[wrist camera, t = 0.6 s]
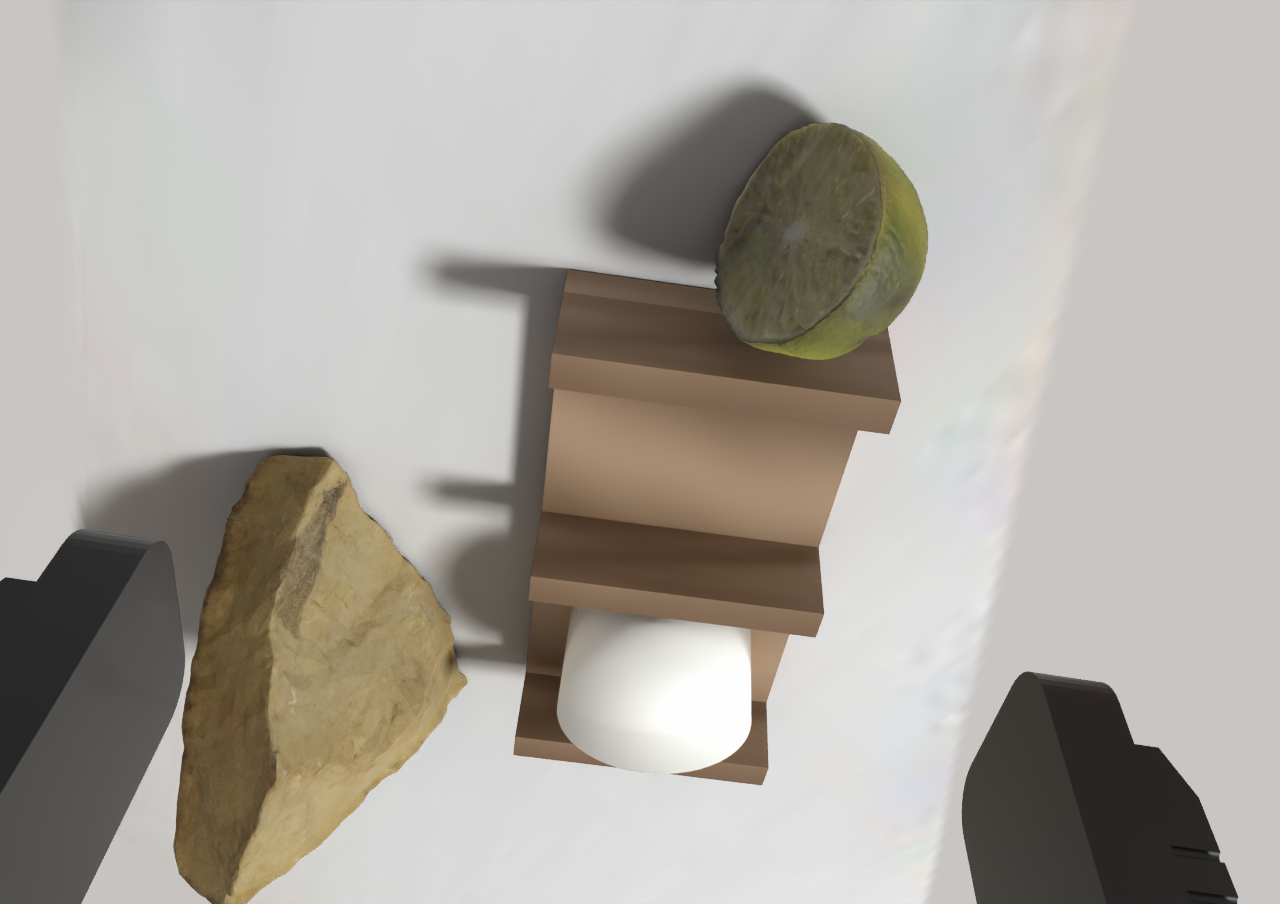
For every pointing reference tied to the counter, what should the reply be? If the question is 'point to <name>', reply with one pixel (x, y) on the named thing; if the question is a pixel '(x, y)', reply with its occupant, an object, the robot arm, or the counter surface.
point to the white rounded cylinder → (654, 690)
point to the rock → (301, 678)
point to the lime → (821, 245)
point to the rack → (687, 484)
